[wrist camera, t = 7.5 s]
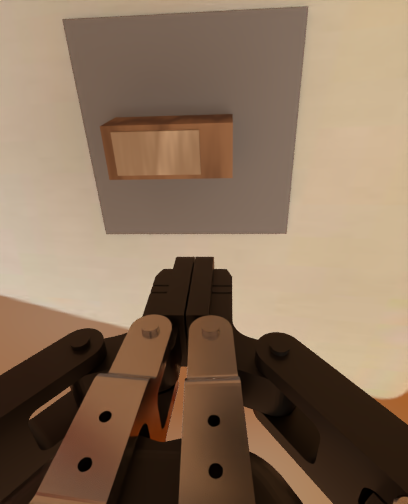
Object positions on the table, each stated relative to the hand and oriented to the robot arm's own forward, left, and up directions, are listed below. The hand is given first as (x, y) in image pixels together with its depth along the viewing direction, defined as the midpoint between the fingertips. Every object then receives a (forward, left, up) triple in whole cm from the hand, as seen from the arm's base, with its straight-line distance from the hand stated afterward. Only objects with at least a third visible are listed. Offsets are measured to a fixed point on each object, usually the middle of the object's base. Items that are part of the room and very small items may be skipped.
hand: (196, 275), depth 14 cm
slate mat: (-2, -2, -26) cm, 26 cm away
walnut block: (+1, +1, -23) cm, 23 cm away
